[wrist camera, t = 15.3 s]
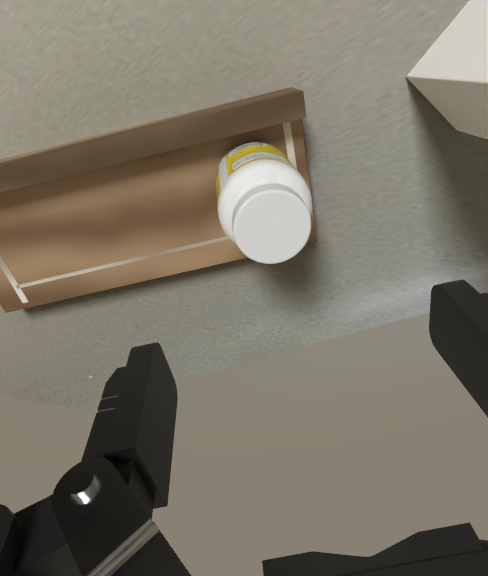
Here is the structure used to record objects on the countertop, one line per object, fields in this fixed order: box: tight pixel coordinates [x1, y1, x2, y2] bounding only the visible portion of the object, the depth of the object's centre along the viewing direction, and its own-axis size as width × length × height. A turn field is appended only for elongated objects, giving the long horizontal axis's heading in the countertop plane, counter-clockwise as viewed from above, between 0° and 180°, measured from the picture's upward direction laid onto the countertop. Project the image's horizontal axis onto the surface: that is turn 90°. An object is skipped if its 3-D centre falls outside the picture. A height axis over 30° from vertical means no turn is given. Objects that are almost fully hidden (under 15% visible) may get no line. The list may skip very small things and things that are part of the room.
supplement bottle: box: [216, 140, 312, 264], centre depth 24 cm, size 5×5×10 cm
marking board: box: [0, 87, 317, 313], centre depth 29 cm, size 11×26×4 cm, turn 102°
